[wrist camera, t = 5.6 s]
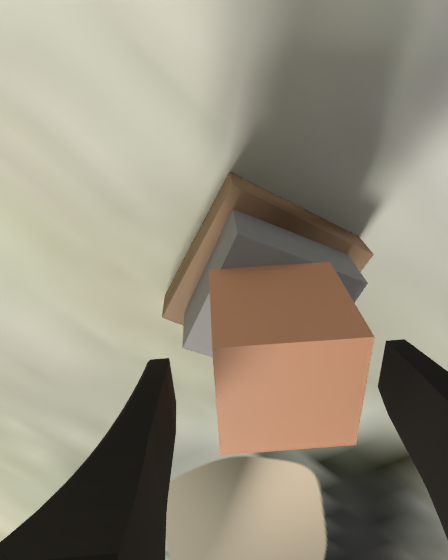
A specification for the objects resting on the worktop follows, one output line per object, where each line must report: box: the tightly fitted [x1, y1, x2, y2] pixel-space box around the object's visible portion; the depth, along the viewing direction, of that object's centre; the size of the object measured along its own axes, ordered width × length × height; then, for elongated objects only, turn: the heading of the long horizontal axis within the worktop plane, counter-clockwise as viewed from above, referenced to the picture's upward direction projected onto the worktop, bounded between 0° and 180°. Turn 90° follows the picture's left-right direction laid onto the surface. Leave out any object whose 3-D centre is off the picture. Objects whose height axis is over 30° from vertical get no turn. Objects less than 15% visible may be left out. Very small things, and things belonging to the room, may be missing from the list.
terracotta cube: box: [209, 262, 374, 455], centre depth 15 cm, size 4×4×4 cm
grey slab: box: [183, 209, 368, 357], centre depth 18 cm, size 6×6×2 cm
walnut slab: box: [162, 172, 374, 326], centre depth 20 cm, size 7×7×2 cm
